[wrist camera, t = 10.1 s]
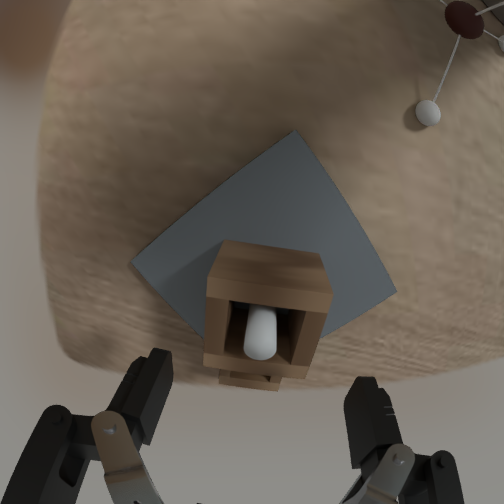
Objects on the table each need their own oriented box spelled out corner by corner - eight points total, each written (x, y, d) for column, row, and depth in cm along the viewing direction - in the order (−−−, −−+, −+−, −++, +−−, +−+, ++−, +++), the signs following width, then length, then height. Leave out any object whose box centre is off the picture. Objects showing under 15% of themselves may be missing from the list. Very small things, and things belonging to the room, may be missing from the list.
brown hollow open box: (319, 253, 18) (333, 294, 13) (285, 374, 22) (286, 422, 17) (224, 239, 18) (207, 276, 13) (214, 364, 22) (202, 411, 17)
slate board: (294, 130, 16) (309, 124, 9) (391, 283, 19) (431, 344, 13) (137, 255, 20) (86, 307, 13) (245, 366, 23) (236, 434, 17)
